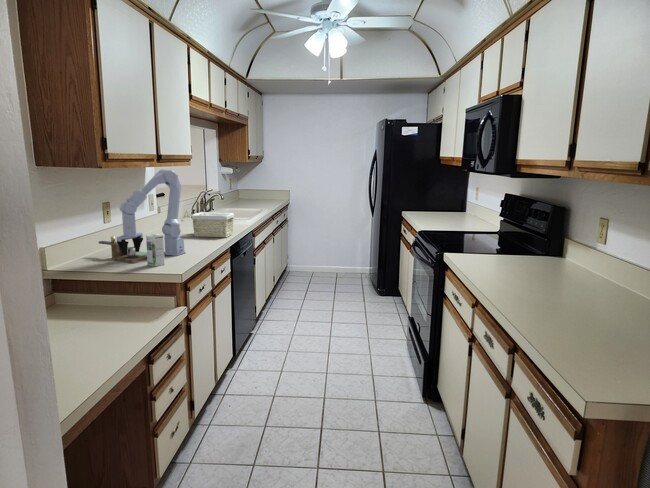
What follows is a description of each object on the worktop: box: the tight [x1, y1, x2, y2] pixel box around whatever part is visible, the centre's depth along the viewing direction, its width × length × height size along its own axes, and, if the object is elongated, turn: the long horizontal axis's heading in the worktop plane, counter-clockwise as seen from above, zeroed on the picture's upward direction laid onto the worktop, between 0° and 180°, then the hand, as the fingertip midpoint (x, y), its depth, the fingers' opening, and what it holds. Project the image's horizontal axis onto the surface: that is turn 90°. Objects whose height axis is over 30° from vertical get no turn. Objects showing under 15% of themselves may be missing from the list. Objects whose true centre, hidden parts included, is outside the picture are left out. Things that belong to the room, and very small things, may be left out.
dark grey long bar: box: [98, 235, 118, 246], centre depth 211 cm, size 14×2×4 cm, turn 69°
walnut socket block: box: [110, 243, 147, 264], centre depth 208 cm, size 16×10×8 cm, turn 70°
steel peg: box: [127, 246, 136, 259], centre depth 207 cm, size 4×4×6 cm
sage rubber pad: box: [136, 251, 147, 256], centre depth 219 cm, size 9×8×1 cm
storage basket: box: [191, 211, 235, 238], centre depth 275 cm, size 24×16×15 cm
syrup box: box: [145, 233, 165, 267], centre depth 198 cm, size 6×6×14 cm
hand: (131, 253), depth 207 cm, fingers open, 7 cm apart
